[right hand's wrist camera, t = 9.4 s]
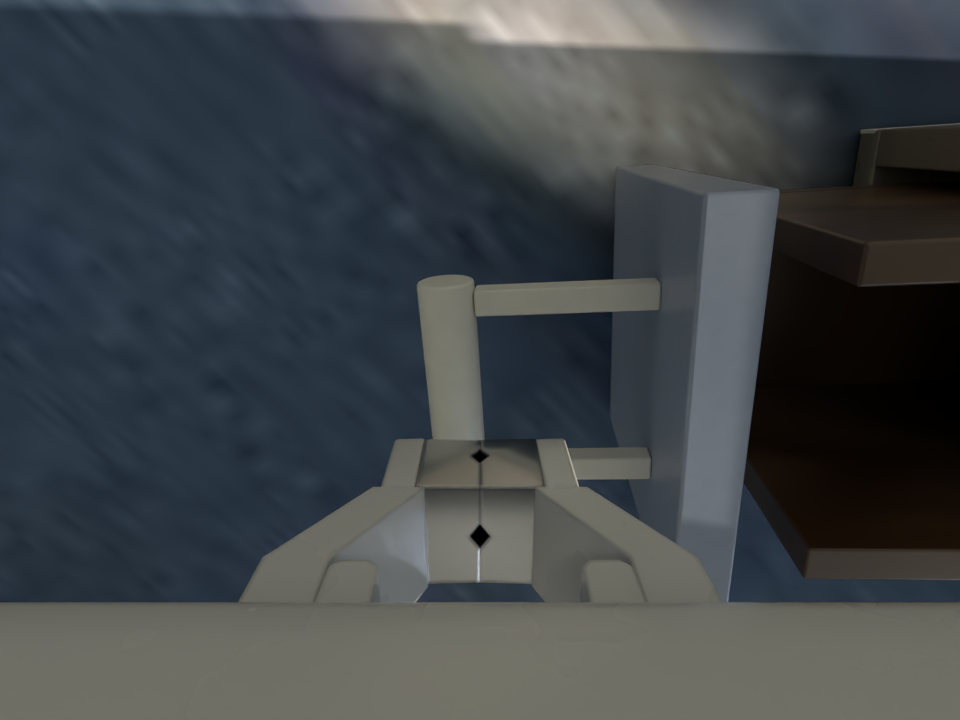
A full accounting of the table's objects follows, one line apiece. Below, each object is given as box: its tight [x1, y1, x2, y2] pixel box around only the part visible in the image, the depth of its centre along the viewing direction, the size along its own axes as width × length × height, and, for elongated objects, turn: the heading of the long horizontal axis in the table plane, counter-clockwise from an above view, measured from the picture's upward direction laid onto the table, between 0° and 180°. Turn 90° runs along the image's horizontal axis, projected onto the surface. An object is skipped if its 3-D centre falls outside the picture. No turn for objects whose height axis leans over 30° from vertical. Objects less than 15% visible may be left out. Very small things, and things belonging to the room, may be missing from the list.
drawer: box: [417, 164, 960, 602], centre depth 14 cm, size 26×9×10 cm, turn 94°
